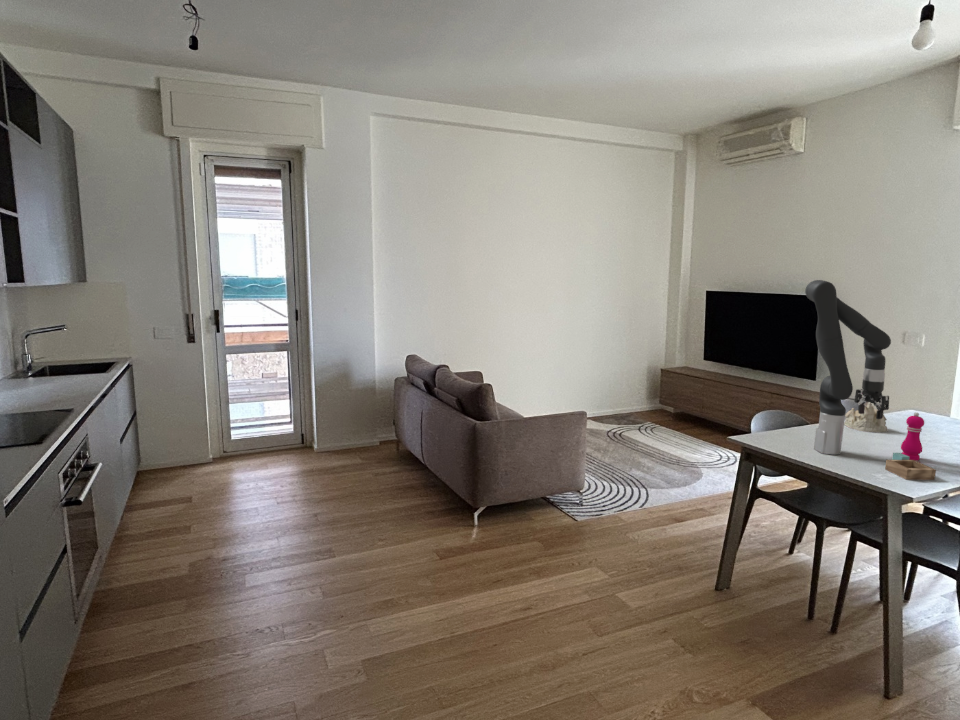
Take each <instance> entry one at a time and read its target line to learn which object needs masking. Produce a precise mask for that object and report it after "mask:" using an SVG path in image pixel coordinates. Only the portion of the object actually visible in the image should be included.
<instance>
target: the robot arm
mask: <svg viewBox="0 0 960 720" xmlns="http://www.w3.org/2000/svg"><path fill="white" fill-rule="evenodd" d="M804 289H805V290H804V291H805V292H804V293H805V296H806V297H807V299H809V301H811V302H813V303H814V305H815V309H816V312H817V324H816V328H815V329H816V330H815V340H816V345H817V349H818V352H819V354H820V356H821V358H822V359H823V361H824V363H825V365H826V366H827V368H828V369H827V370H829V375H827V376H826V377H824V378H823V379H822V381H821V383H820V387H819V400H818V402H819V403H818V404H819V407H820V408H819V409H820V412H819V419H818V420H819V421H818V427H815V434H814V435H815V436H814V443H813V450H814V451H816V452H819V453H821V454H825V455H826V454H827V455H833V456H834V455H840V454H841V453H842V445H843V444H842V443H843V436H844V430H845V429H844V428H845V425H844V423H845V414H846V413H847V412H846V411H847V408H846V407H845V406H844V404H843V403H842V401H845V400H847V399H849V398H850V397H851V396H852V394H853V389H854V388H853V387H854V386H853V382H852V378H851V376H850V373H849V368H848V365H847V364H848V363H847V359H846V354H845V353H846V352H845V348H844V342H843V341H844V339H843V335H842V329H841V324H840V322H841V323H842V325H844V326H845V327H847V328H848V329H849V330H850V331H851V332H852V333H853V334H855V335H856V336H858V337H861V338H862V339H863V350H864V351H863V352H864V357H865V360H864V367H863V373H862V382H861V383H862V384H861V388H858V389H856V390H855V394H854V395H855V396H854V404H855V403H857V405H858V409H857V410H858V412H859V414H864V409H865V407H866V406H865V405H866V404H867V403H868V402H870V403H871V404H872V405H873V407H876V408H875V409H877V414H876V419H882V418H883V415H884V414H883V413H884V411H888V410H889V409H890V407H889V406H890V396H889V395H883V391H884V389H885V388H884V386H885V378H886V373H885V371H886V370H885V369H886V356H885V355H884V354H883V350H886V349H888V348H889V347H890V346H891V345H892V344H891V343H892V340H891V337H890V336H889V334H887V333H886V332H885V331H884V330H882V329H880V328H879V327H877V325H874V324H873V323H871V321H870V320H868V319H867V318H866V317H865V316H863V314H861V313H860V312H859V311H857V310H856V309H855V308H853V307H851V306H850V305H848V304H847V303H846V302H844V301H842V300H841V299H840V298H839V297H838V296H837V289H836V287H835V285H834V284H833V283H832V282H831V281H827V280H824V279H823V280H821V279H816V280H813V281H810V282H808V283H807V285H806V286H805V288H804Z"/></svg>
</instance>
